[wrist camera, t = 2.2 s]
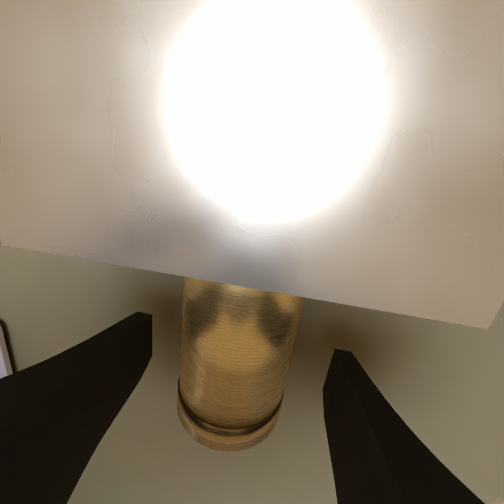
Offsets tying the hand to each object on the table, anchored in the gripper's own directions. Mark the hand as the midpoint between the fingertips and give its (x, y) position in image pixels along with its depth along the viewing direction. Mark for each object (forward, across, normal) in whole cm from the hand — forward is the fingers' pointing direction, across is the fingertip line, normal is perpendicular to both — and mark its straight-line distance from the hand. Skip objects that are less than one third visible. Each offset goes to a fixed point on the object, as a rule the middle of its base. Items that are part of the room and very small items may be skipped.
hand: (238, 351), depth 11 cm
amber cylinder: (+2, 0, -3) cm, 4 cm away
